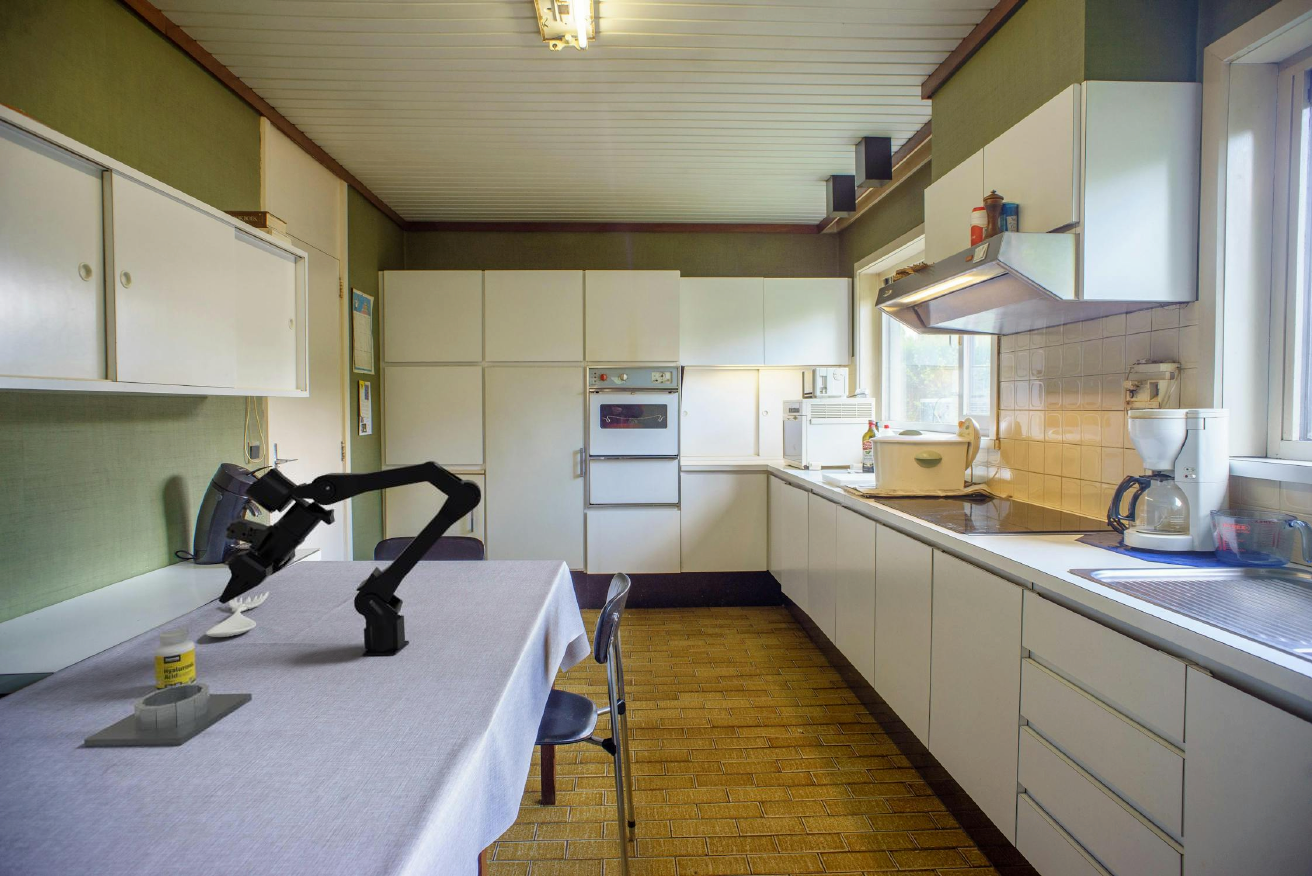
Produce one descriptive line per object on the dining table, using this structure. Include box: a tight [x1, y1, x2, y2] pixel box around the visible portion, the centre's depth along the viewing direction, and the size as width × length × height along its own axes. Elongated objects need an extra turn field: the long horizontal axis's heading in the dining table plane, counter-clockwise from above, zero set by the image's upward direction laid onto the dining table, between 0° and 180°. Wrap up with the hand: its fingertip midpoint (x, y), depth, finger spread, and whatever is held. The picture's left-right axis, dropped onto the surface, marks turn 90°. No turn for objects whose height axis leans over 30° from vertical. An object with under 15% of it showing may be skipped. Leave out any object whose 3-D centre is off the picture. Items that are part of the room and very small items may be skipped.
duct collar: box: [83, 682, 253, 748], centre depth 91 cm, size 14×14×4 cm
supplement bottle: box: [154, 627, 197, 691], centre depth 104 cm, size 5×5×10 cm
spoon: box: [204, 590, 269, 638], centre depth 141 cm, size 9×32×4 cm, turn 27°
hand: (231, 595), depth 111 cm, fingers open, 9 cm apart
